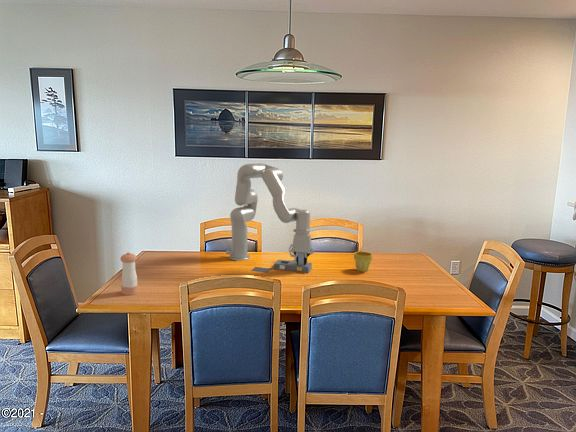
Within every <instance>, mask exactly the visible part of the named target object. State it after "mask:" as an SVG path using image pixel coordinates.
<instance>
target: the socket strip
mask: <svg viewBox="0 0 576 432" xmlns="http://www.w3.org/2000/svg"><path fill="white" fill-rule="evenodd" d="M312 268H313V263H312V262H308V261H307V263H306V264H305V266H303V265H298V264H297V262H296V261H294V260H287V259H277V260H276V261H275V262H274V263H273V270H281V271H288V272H297V273H301V272H302V274H309V273H310V272H311V270H312Z"/></svg>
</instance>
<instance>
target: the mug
mask: <svg viewBox="0 0 576 432" xmlns="http://www.w3.org/2000/svg"><path fill="white" fill-rule="evenodd" d="M292 247H293V243H290V245H289V247H288V253H289V255H290V257H291V258H294V259H293V261H296V256H295V255H294V253H292V252H291V249H292Z"/></svg>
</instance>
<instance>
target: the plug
mask: <svg viewBox="0 0 576 432" xmlns="http://www.w3.org/2000/svg"><path fill="white" fill-rule="evenodd" d="M304 258H305V253H300V252H299V253H298V265H303V266H305V265H304Z"/></svg>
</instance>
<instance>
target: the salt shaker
mask: <svg viewBox="0 0 576 432" xmlns="http://www.w3.org/2000/svg"><path fill="white" fill-rule="evenodd" d="M136 261H137V256H136V254H134V253H131V252H126V253H124V254H122V255H121V256H120V262H122V264H121V265H122V272H121V273H122V274H121V286H120V289H121V291H120V292H121V295H123V296H132V295H136V294H138V293H139V284H138V275H137V272H136Z"/></svg>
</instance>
